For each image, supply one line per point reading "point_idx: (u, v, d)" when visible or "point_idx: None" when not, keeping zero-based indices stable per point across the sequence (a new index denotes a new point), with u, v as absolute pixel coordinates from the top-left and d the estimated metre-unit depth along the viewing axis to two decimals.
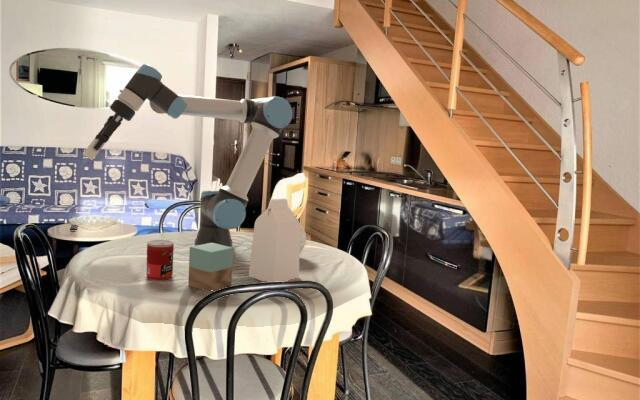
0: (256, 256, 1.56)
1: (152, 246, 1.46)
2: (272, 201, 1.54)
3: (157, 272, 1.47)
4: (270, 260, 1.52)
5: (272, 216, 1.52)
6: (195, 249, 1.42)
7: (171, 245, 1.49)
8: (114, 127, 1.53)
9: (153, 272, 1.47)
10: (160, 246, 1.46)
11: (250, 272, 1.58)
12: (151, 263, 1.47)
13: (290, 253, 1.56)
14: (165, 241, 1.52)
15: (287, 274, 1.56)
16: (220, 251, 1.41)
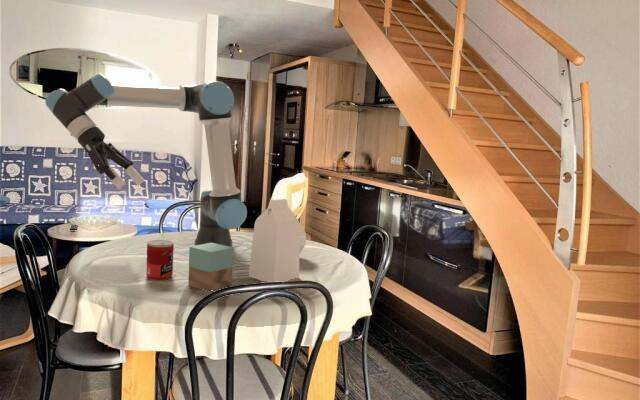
0: (256, 256, 1.56)
1: (152, 246, 1.46)
2: (272, 201, 1.54)
3: (157, 272, 1.47)
4: (270, 260, 1.52)
5: (272, 216, 1.52)
6: (195, 249, 1.42)
7: (171, 245, 1.49)
8: (94, 153, 1.44)
9: (153, 272, 1.47)
10: (160, 246, 1.46)
11: (250, 272, 1.58)
12: (151, 263, 1.47)
13: (290, 253, 1.56)
14: (165, 241, 1.52)
15: (287, 274, 1.56)
16: (220, 251, 1.41)
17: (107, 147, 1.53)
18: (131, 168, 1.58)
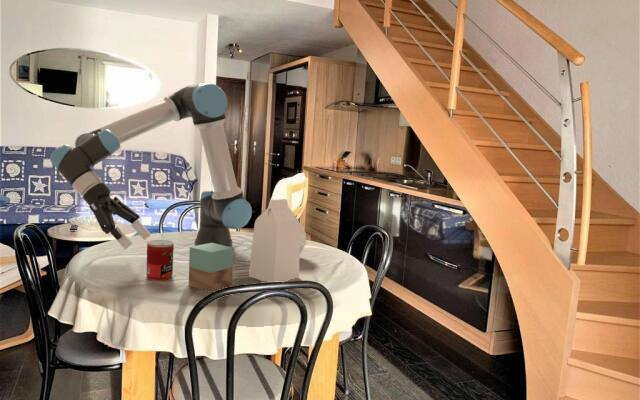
0: (256, 256, 1.56)
1: (152, 246, 1.46)
2: (272, 201, 1.54)
3: (157, 272, 1.47)
4: (270, 260, 1.52)
5: (272, 216, 1.52)
6: (195, 249, 1.42)
7: (171, 245, 1.49)
8: (100, 213, 1.41)
9: (153, 272, 1.47)
10: (160, 246, 1.46)
11: (250, 272, 1.58)
12: (151, 263, 1.47)
13: (290, 253, 1.56)
14: (165, 241, 1.52)
15: (287, 274, 1.56)
16: (220, 251, 1.41)
17: (113, 203, 1.49)
18: (137, 222, 1.55)
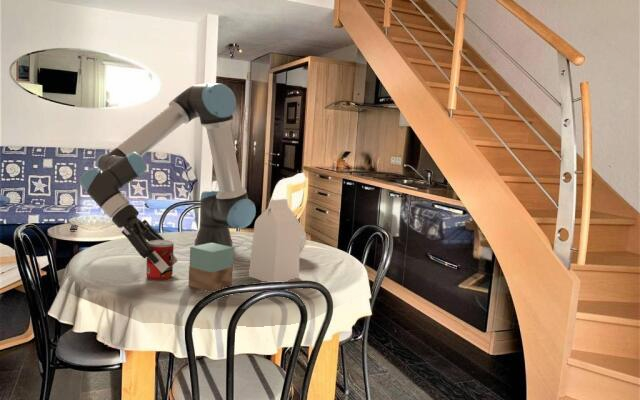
0: (256, 256, 1.56)
1: (152, 245, 1.46)
2: (272, 201, 1.54)
3: (157, 272, 1.47)
4: (270, 260, 1.52)
5: (272, 216, 1.52)
6: (196, 249, 1.42)
7: (171, 245, 1.49)
8: (135, 238, 1.43)
9: (153, 271, 1.47)
10: (160, 246, 1.46)
11: (250, 272, 1.58)
12: (151, 262, 1.47)
13: (290, 253, 1.56)
14: (165, 241, 1.52)
15: (287, 274, 1.56)
16: (221, 251, 1.41)
17: (141, 224, 1.50)
18: None
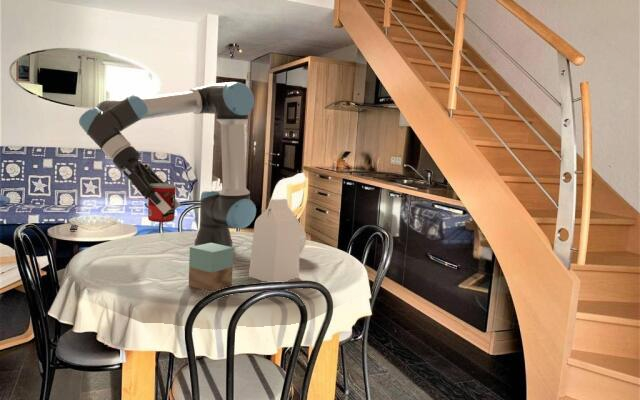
0: (256, 256, 1.56)
1: (154, 187, 1.44)
2: (272, 201, 1.54)
3: (159, 214, 1.45)
4: (270, 260, 1.52)
5: (272, 216, 1.52)
6: (195, 249, 1.42)
7: (173, 187, 1.46)
8: (136, 178, 1.41)
9: (154, 213, 1.45)
10: (162, 187, 1.44)
11: (250, 272, 1.58)
12: (152, 204, 1.45)
13: (290, 253, 1.56)
14: (167, 184, 1.50)
15: (287, 274, 1.56)
16: (221, 251, 1.41)
17: (142, 167, 1.48)
18: None
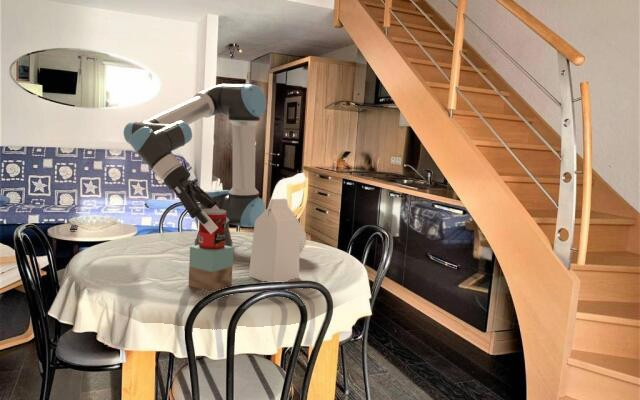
0: (256, 256, 1.56)
1: (206, 213, 1.40)
2: (272, 201, 1.54)
3: (211, 241, 1.41)
4: (270, 260, 1.52)
5: (272, 216, 1.52)
6: (196, 249, 1.42)
7: (224, 213, 1.42)
8: (185, 197, 1.35)
9: (206, 240, 1.41)
10: (214, 213, 1.40)
11: (250, 272, 1.58)
12: (204, 231, 1.41)
13: (290, 253, 1.56)
14: (217, 210, 1.46)
15: (287, 274, 1.56)
16: (221, 251, 1.42)
17: (193, 187, 1.44)
18: (215, 208, 1.49)
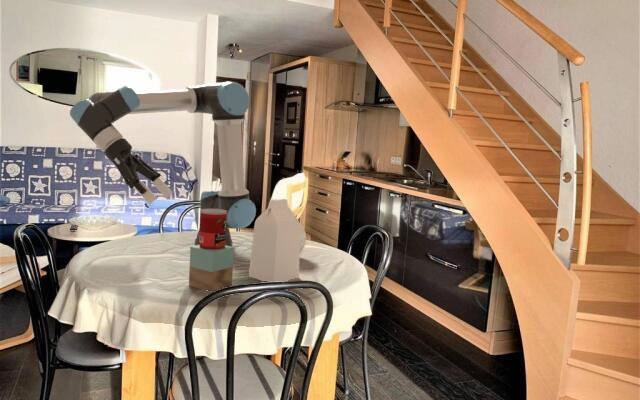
0: (256, 256, 1.56)
1: (206, 213, 1.40)
2: (272, 201, 1.54)
3: (211, 241, 1.40)
4: (270, 260, 1.52)
5: (272, 216, 1.52)
6: (196, 249, 1.42)
7: (225, 213, 1.42)
8: (124, 167, 1.38)
9: (206, 240, 1.41)
10: (214, 213, 1.40)
11: (250, 272, 1.58)
12: (204, 231, 1.41)
13: (290, 253, 1.56)
14: (218, 210, 1.46)
15: (287, 274, 1.56)
16: (221, 251, 1.41)
17: (135, 159, 1.47)
18: (159, 180, 1.53)
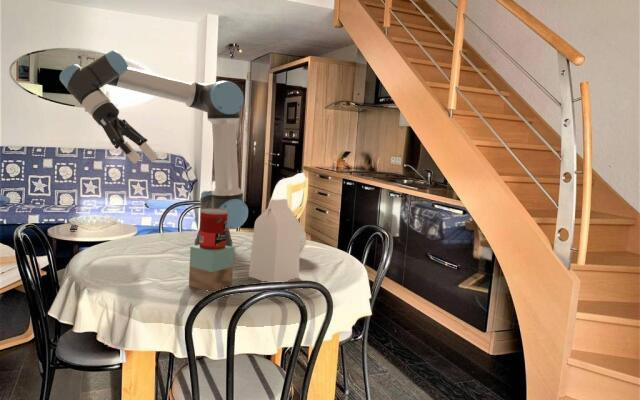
0: (256, 256, 1.56)
1: (207, 213, 1.40)
2: (272, 201, 1.54)
3: (212, 241, 1.40)
4: (270, 260, 1.52)
5: (272, 216, 1.52)
6: (196, 249, 1.42)
7: (226, 213, 1.42)
8: (109, 128, 1.44)
9: (207, 240, 1.40)
10: (215, 213, 1.40)
11: (250, 272, 1.58)
12: (205, 231, 1.40)
13: (290, 253, 1.56)
14: (218, 210, 1.46)
15: (287, 274, 1.56)
16: (221, 251, 1.41)
17: (121, 123, 1.53)
18: (145, 145, 1.58)
